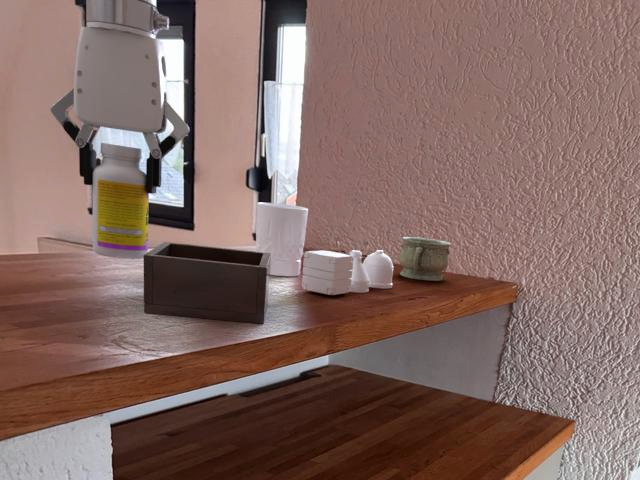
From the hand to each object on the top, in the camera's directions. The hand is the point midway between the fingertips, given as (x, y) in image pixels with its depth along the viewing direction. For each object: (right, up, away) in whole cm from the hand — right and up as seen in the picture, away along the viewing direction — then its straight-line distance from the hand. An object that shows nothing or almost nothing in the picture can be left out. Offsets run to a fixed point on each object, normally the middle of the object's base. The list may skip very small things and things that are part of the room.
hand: (120, 187), depth 90 cm
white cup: (+17, -3, +25) cm, 30 cm away
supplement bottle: (-1, -8, +3) cm, 8 cm away
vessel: (+40, 0, +40) cm, 57 cm away
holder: (+12, -16, -5) cm, 20 cm away
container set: (+28, -8, +19) cm, 35 cm away
